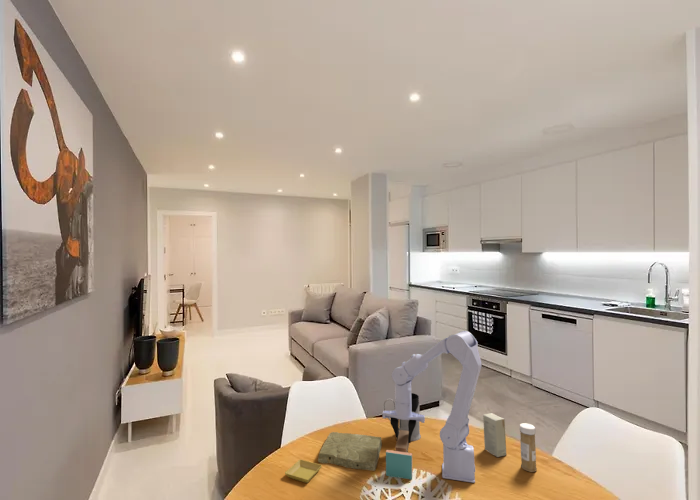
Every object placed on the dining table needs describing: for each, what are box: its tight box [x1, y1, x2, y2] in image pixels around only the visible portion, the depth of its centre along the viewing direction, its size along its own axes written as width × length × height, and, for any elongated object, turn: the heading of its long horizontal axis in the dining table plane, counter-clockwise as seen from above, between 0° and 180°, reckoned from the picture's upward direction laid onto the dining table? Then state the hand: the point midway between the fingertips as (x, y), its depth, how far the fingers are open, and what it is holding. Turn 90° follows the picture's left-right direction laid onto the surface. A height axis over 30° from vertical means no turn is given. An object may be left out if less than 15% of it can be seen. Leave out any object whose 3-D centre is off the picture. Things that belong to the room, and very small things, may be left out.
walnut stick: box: [394, 430, 410, 453], centre depth 117 cm, size 4×12×4 cm, turn 165°
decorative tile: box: [317, 431, 383, 472], centre depth 120 cm, size 19×20×4 cm
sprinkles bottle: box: [519, 422, 538, 473], centre depth 111 cm, size 5×5×13 cm
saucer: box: [284, 459, 323, 484], centre depth 107 cm, size 9×9×2 cm
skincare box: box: [482, 412, 507, 458], centre depth 121 cm, size 6×4×12 cm
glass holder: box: [383, 392, 422, 442], centre depth 133 cm, size 9×14×15 cm, turn 88°
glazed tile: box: [385, 449, 413, 481], centre depth 106 cm, size 8×2×7 cm, turn 75°
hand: (403, 440), depth 119 cm, fingers closed on walnut stick, 3 cm apart
